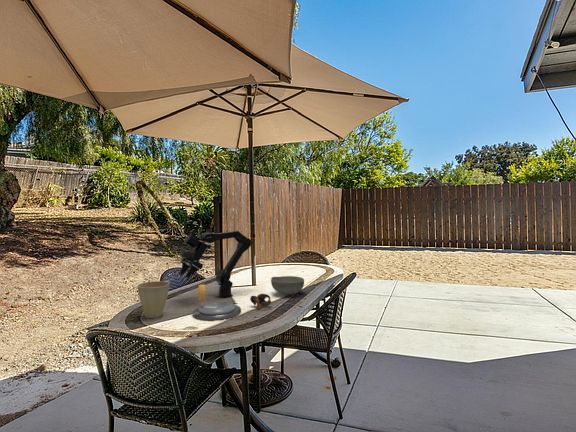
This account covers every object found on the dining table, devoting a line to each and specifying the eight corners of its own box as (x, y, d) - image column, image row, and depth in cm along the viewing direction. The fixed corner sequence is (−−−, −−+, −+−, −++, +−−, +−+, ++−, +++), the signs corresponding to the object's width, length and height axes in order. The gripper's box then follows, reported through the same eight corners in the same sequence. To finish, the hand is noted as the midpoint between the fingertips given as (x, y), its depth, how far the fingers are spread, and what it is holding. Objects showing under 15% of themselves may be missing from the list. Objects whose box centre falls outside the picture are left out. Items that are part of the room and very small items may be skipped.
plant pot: (151, 322, 165) (150, 289, 164) (131, 317, 172) (130, 285, 172) (176, 314, 177) (175, 282, 177) (157, 309, 185) (156, 279, 185)
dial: (239, 305, 185) (239, 282, 185) (227, 316, 167) (226, 290, 167) (206, 304, 189) (206, 281, 188) (191, 314, 171) (190, 289, 171)
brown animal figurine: (272, 305, 192) (274, 294, 188) (266, 317, 184) (268, 306, 180) (252, 299, 194) (253, 288, 190) (245, 311, 186) (246, 299, 182)
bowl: (291, 300, 200) (291, 283, 199) (264, 295, 212) (264, 279, 212) (310, 293, 216) (310, 277, 215) (284, 288, 228) (284, 273, 228)
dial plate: (223, 303, 195) (223, 300, 195) (250, 312, 178) (250, 309, 178) (183, 313, 178) (183, 310, 178) (208, 324, 161) (208, 320, 161)
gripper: (181, 243, 204) (165, 266, 199) (193, 246, 189) (177, 271, 184) (196, 253, 209) (181, 276, 204) (209, 256, 194) (194, 281, 189)
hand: (183, 276), depth 195 cm, fingers open, 9 cm apart
